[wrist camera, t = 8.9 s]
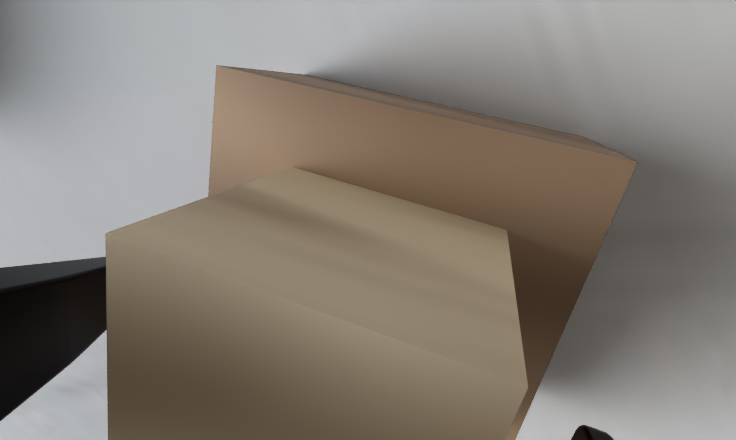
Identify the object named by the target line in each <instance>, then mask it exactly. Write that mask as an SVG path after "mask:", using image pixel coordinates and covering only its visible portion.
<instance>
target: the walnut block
mask: <svg viewBox="0 0 736 440" xmlns="http://www.w3.org/2000/svg"><path fill="white" fill-rule="evenodd" d="M637 163H638V162H637V161H634V160H632V159H630V158H628V157H626V156H624V155H621V154H619V153H617V152H615V151H613V150H610V149H608V148H606V147H604V146H602V145H599V144H597V143H595V142H593V141H591V140H589V139H586V138H584V137H581V136H576V135H572V134H567V133H563V132H558V131H554V130H549V129H545V128H540V127H536V126H531V125H527V124H522V123H518V122H514V121H509V120H505V119H500V118H496V117H491V116H487V115H482V114H478V113H473V112H469V111H464V110H460V109H455V108H451V107H446V106H442V105H438V104H433V103H429V102H424V101H420V100H415V99H411V98H406V97H402V96H397V95H393V94H388V93H384V92H379V91H375V90H370V89H366V88H362V87H357V86H353V85H348V84H344V83H339V82H335V81H330V80H326V79H321V78H317V77H312V76H308V75H303V74H293V73H284V72H274V71H265V70H256V69H246V68H237V67H227V66H218V65H216V81H215V97H214V113H213V129H212V146H211V162H210V178H209V194H208V197H209V196H212V195H215V194H218V193H221V192H223V191H226V190H229V189H232V188H235V187H238V186H240V185H243V184H246V183H249V182H252V181H255V180H257V179H260V178H263V177H266V176H269V175H271V174H274V173H277V172H280V171H283V170H286V169H288V168H291V167H294V168H298V169H301V170H304V171H308V172H311V173H315V174H318V175H321V176H325V177H328V178H332V179H335V180H338V181H342V182H345V183H349V184H352V185H355V186H359V187H362V188H366V189H369V190H373V191H376V192H379V193H383V194H386V195H390V196H393V197H396V198H400V199H403V200H407V201H410V202H413V203H417V204H420V205H424V206H427V207H430V208H434V209H437V210H441V211H444V212H448V213H451V214H454V215H458V216H461V217H465V218H468V219H471V220H475V221H478V222H482V223H485V224H488V225H492V226H495V227H499V228H502V229H505V230H507V235H508V242H509V250H510V257H511V264H512V272H513V279H514V287H515V294H516V301H517V309H518V316H519V323H520V331H521V338H522V346H523V353H524V360H525V368H526V375H527V382H528V389H527V391H526V394H525V396H524V398H523V400H522V402H521V405H520V407H519V409H518V411H517V413H516V416H515V418H514V420H513V422H512V425H511V427H510V429H509V431H508V433H507V436H506V438H505V440H515V439H516V437H517V434H518V432H519V430H520V428H521V425H522V423H523V421H524V419H525V416H526V414H527V412H528V410H529V407H530V405H531V403H532V400H533V398H534V396H535V394H536V391H537V389H538V387H539V385H540V382H541V380H542V378H543V376H544V373H545V371H546V369H547V366H548V364H549V362H550V360H551V357H552V355H553V353H554V351H555V348H556V346H557V344H558V342H559V339H560V337H561V335H562V333H563V330H564V328H565V326H566V323H567V321H568V319H569V317H570V314H571V312H572V310H573V308H574V305H575V303H576V301H577V299H578V296H579V294H580V292H581V290H582V287H583V285H584V283H585V280H586V278H587V276H588V274H589V271H590V269H591V267H592V265H593V262H594V260H595V258H596V256H597V253H598V251H599V249H600V246H601V244H602V242H603V240H604V237H605V235H606V233H607V231H608V228H609V226H610V224H611V222H612V219H613V217H614V215H615V213H616V210H617V208H618V206H619V203H620V201H621V199H622V197H623V194H624V192H625V190H626V188H627V185H628V183H629V181H630V179H631V176H632V174H633V172H634V170H635V167H636V165H637Z"/></svg>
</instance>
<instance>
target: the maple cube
mask: <svg viewBox="0 0 736 440" xmlns="http://www.w3.org/2000/svg"><path fill="white" fill-rule="evenodd" d="M106 308H107V389H108V440H505V438H506V436H507V433H508V431H509V429H510V427H511V425H512V422H513V420H514V418H515V416H516V413H517V411H518V409H519V407H520V405H521V402H522V400H523V398H524V396H525V394H526V391H527V389H528V382H527V375H526V368H525V360H524V353H523V346H522V338H521V331H520V323H519V316H518V309H517V301H516V294H515V287H514V279H513V272H512V264H511V257H510V250H509V242H508V235H507V230H505V229H502V228H499V227H495V226H492V225H488V224H485V223H482V222H478V221H475V220H471V219H468V218H465V217H461V216H458V215H454V214H451V213H448V212H444V211H441V210H437V209H434V208H430V207H427V206H424V205H420V204H417V203H413V202H410V201H407V200H403V199H400V198H396V197H393V196H390V195H386V194H383V193H379V192H376V191H373V190H369V189H366V188H362V187H359V186H355V185H352V184H349V183H345V182H342V181H338V180H335V179H332V178H328V177H325V176H321V175H318V174H315V173H311V172H308V171H304V170H301V169H298V168H294V167H291V168H288V169H286V170H283V171H280V172H277V173H274V174H271V175H269V176H266V177H263V178H260V179H257V180H255V181H252V182H249V183H246V184H243V185H240V186H238V187H235V188H232V189H229V190H226V191H223V192H221V193H218V194H215V195H212V196H209V197H206V198H204V199H201V200H198V201H195V202H192V203H190V204H187V205H184V206H181V207H178V208H175V209H173V210H170V211H167V212H164V213H161V214H158V215H156V216H153V217H150V218H147V219H144V220H141V221H139V222H136V223H133V224H130V225H127V226H125V227H122V228H119V229H116V230H113V231H110V232H108V233H106Z"/></svg>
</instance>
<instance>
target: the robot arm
mask: <svg viewBox="0 0 736 440" xmlns="http://www.w3.org/2000/svg"><path fill="white" fill-rule="evenodd" d="M106 330H107V308H106V257H100V258H91V259H81V260H71V261H62V262H52V263H43V264H33V265H23V266H14V267H4V268H0V421H1V420H2V419H4V418H5V417H6V416H7V415H9V414H10V413H11V412H12V411H13V410H15V409H16V408H17V407H18V406H20V405H21V404H22V403H23V402H24V401H26V400H27V399H28V398H29V397H31V396H32V395H33V394H34V393H35V392H37V391H38V390H39V389H40V388H42V387H43V386H44V385H45V384H47V383H48V382H49V381H50V380H51V379H53V378H54V377H55V376H56V375H58V374H59V373H60V372H61V371H62V370H64V369H65V368H66V367H67V366H68V365H69V364H71V363H72V362H73V361H74V360H75V359H76V358H77V357H78V356H79V355H80V354H82V353H83V352H84V351H85V350H86V349H87V348H88V347H89V346H90V345H91V344H92V343H93V342H94V341H95V340H96V339H97V338H98V337H99V336H100V335H101V334H102V333H103V332H104V331H106ZM571 440H614V439H613V438H612V437H611V436H610V435H609V434H607V433H606V432H603V431H600V430H598V429H595V428H592V427H589V426H586V425H582V426H579V427H578V428H577V430H576V431H575V433H574V435H573V437H572V439H571Z"/></svg>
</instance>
